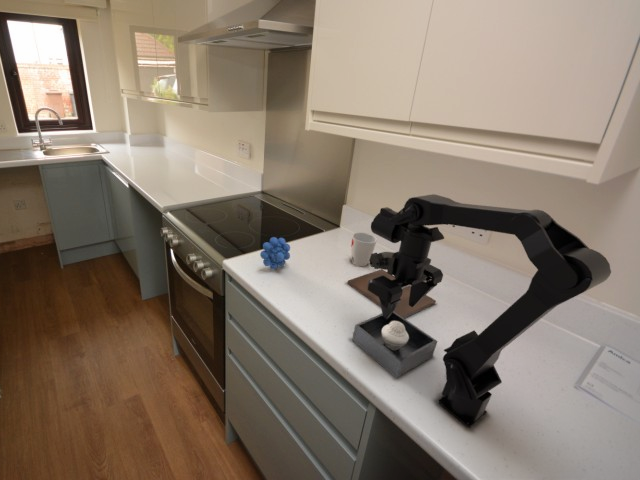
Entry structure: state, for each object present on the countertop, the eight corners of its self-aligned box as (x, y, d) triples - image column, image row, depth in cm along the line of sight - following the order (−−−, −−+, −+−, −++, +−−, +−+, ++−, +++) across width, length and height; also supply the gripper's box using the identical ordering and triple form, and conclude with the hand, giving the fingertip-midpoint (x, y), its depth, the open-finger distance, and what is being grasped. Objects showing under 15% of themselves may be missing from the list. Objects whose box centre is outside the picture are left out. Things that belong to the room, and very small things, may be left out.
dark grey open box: (432, 356, 81) (437, 341, 79) (396, 378, 74) (400, 361, 72) (387, 323, 91) (391, 309, 89) (351, 340, 85) (355, 324, 83)
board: (435, 304, 100) (436, 300, 100) (399, 320, 93) (400, 316, 92) (381, 272, 116) (381, 269, 116) (347, 283, 108) (347, 280, 108)
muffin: (373, 339, 84) (378, 316, 81) (393, 334, 86) (399, 312, 83) (390, 357, 79) (397, 334, 76) (411, 352, 81) (418, 328, 78)
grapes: (266, 279, 108) (268, 245, 104) (255, 269, 114) (257, 236, 109) (295, 271, 114) (299, 238, 109) (284, 261, 119) (287, 230, 114)
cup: (353, 254, 127) (358, 230, 123) (374, 262, 122) (380, 237, 118) (344, 262, 121) (348, 237, 117) (365, 271, 116) (371, 245, 112)
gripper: (408, 230, 84) (395, 284, 90) (354, 245, 75) (344, 304, 81) (452, 249, 75) (434, 307, 81) (397, 268, 66) (381, 332, 72)
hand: (398, 311), depth 79 cm, fingers open, 9 cm apart
